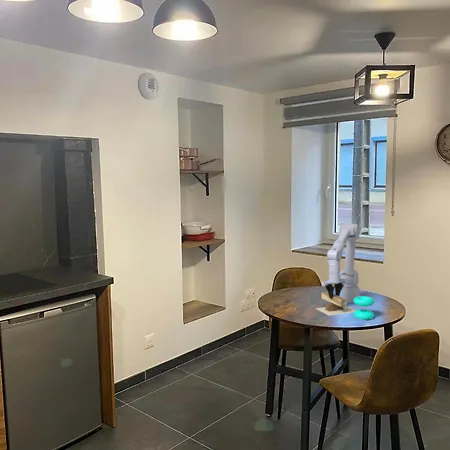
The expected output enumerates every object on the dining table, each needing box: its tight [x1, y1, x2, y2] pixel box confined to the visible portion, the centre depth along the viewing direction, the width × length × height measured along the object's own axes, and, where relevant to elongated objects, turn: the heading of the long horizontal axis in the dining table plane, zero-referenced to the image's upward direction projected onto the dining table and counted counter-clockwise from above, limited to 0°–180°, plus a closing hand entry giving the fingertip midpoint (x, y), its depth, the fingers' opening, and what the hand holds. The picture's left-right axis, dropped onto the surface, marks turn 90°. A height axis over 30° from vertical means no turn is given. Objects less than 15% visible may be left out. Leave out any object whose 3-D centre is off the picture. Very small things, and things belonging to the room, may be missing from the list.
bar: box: [321, 291, 347, 306], centre depth 245 cm, size 4×16×4 cm, turn 25°
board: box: [315, 305, 357, 316], centre depth 244 cm, size 18×14×1 cm
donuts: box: [352, 295, 375, 321], centre depth 231 cm, size 10×10×10 cm
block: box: [325, 302, 344, 312], centre depth 245 cm, size 9×4×4 cm, turn 108°
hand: (334, 297), depth 244 cm, fingers closed on bar, 3 cm apart
